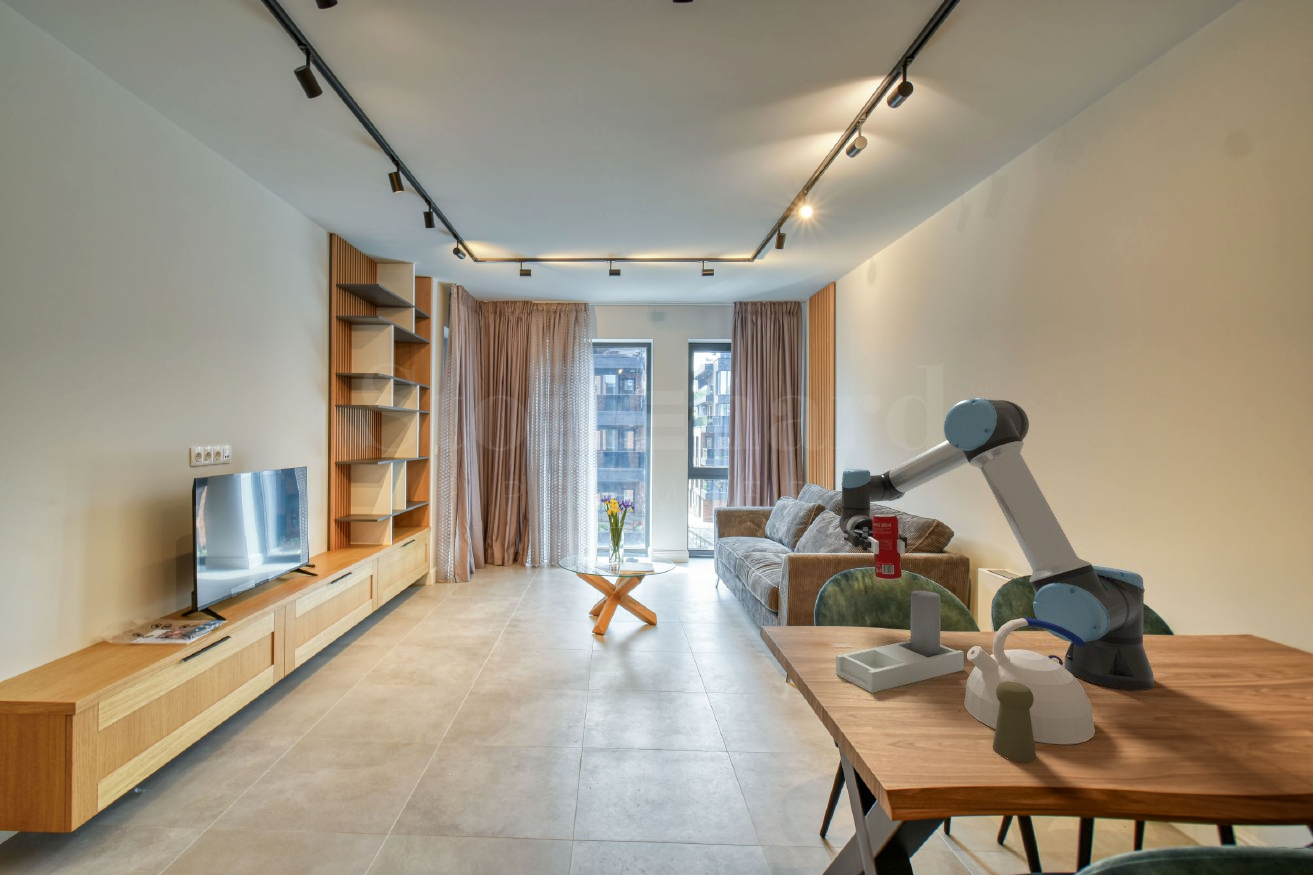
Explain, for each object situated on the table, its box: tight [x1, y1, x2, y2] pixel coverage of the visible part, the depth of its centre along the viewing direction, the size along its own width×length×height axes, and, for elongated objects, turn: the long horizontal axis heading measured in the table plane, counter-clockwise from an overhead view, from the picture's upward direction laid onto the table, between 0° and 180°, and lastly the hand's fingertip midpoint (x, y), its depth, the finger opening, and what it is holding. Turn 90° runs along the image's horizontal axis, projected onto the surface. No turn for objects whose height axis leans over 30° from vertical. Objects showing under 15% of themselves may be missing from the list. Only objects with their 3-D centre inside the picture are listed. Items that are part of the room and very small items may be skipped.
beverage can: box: [871, 512, 903, 581], centre depth 137 cm, size 6×6×15 cm
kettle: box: [963, 617, 1096, 746], centre depth 108 cm, size 20×21×18 cm
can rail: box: [835, 590, 965, 694], centre depth 127 cm, size 27×10×16 cm, turn 115°
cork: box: [992, 681, 1037, 764], centre depth 95 cm, size 6×6×11 cm
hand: (889, 548), depth 132 cm, fingers closed on beverage can, 5 cm apart
